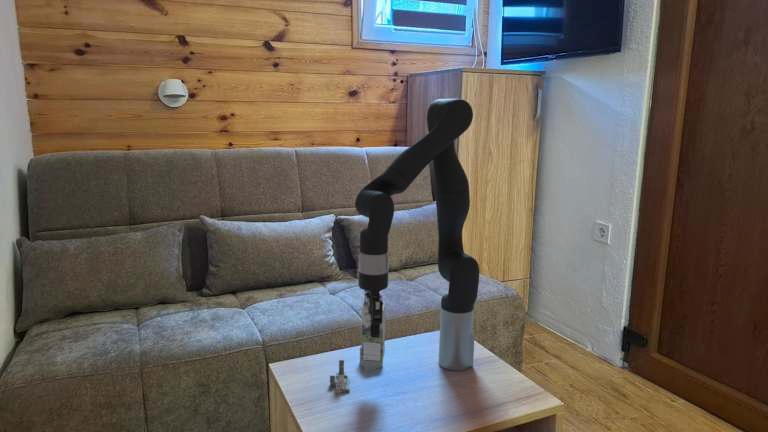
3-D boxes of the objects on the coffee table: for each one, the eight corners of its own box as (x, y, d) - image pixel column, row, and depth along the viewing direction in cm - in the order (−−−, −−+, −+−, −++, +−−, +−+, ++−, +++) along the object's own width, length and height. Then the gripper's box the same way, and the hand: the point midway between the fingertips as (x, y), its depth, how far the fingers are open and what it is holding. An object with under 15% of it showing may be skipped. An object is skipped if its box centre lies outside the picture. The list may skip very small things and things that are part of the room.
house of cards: (317, 377, 147) (317, 351, 146) (349, 376, 148) (349, 351, 146) (315, 394, 138) (315, 367, 137) (349, 394, 139) (349, 366, 137)
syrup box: (385, 352, 142) (385, 300, 139) (382, 362, 136) (383, 308, 133) (363, 351, 142) (364, 299, 140) (360, 361, 137) (360, 307, 134)
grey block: (375, 360, 157) (375, 344, 156) (382, 367, 153) (383, 351, 152) (359, 363, 155) (359, 347, 154) (366, 371, 151) (366, 354, 150)
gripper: (393, 277, 128) (392, 342, 132) (383, 260, 142) (382, 319, 145) (362, 278, 127) (362, 344, 130) (354, 261, 141) (354, 321, 144)
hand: (372, 330), depth 138 cm, fingers closed on syrup box, 6 cm apart
